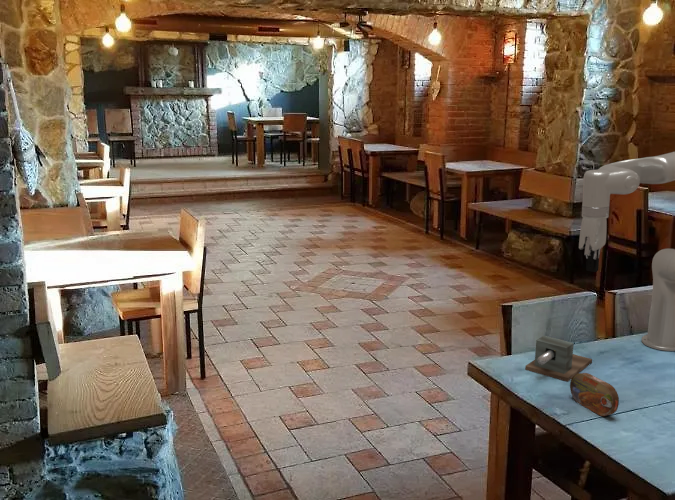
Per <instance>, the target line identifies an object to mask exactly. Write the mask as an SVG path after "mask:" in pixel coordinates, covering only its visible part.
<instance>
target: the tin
mask: <svg viewBox="0 0 675 500" xmlns="http://www.w3.org/2000/svg"><path fill="white" fill-rule="evenodd" d="M569 389H570V393H571V396H572V397H573V399H574V401H575V402H576V403H577V404H579V405H580V406H582V407H584V408H586V409H587V410H589V411H591V412H593V413H594V414H596V415H598V416H601V417H607V416H612V415H613V414H615V413H616V412H617V411H618V408H619V401H620V398H619V397H620V396H619V393H618V391H617V390H616V388H615V387H614V386H613V385H612V384H611V383H608V382H606V381H605V380H603V379H600V378H598V376H597V377H596V376H595V375H593V374H591V373H587V372H580V373H577V374H575V375H574V376H573V377H572V379H571V380H570V382H569Z"/></svg>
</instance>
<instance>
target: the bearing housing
mask: <svg viewBox="0 0 675 500" xmlns="http://www.w3.org/2000/svg"><path fill="white" fill-rule="evenodd" d="M550 349H552V350H556V356H555V357H553V358H552V359H551V360H549V361H548V362H546V363H545V364H543V365H541V364H539V363H538V361H537V359H538V357H539V356H541V355H542V354H544V353H545V352H547V351H548V350H550ZM534 353H535V354H534V359H533V360H532V361H531V362H529V363H528V364H527V363H526V365H525V367H524V368H525V371H529V372H532V373H535V374H539V375H543V376H546V377H549V378H552V379H556V380H560V381H563V382H566V383H568V382H569V381H571V379H572V377H573V376H574V375H575V374H577V373H582V372H583V371H584V370H585V369H586V368H587V367H588V365H589V364H590V363H591V364H593V359H592V358H589V357H587V356H582V355H579V354H574V342H570V341H566V340H563V339H560V340H559V338H555V337H551V336H547V335H542V336H541V337H539V338H538V339H536V341H535V351H534ZM591 364H590V365H591ZM590 365H589V366H590ZM584 368H585V369H584Z"/></svg>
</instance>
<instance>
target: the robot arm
mask: <svg viewBox="0 0 675 500" xmlns="http://www.w3.org/2000/svg"><path fill="white" fill-rule="evenodd" d="M670 182H675V151H672V152H668V153H664V154H663V153H662V154H659V155H655V156H646V157H641V158H632V159H624V160H620V161H616V162H611V163H608V164H605V165H602V166H600V167H599V168H598V169H589V170H587V171H585V172H584V174H583V184H582V186H583V187H582V188H583V189H582V205H581V217H582V219H581V223H580V232H579V239H578V241H579V242H578V249H579V250H584V256H585V258H586V262H585V271H587V272H591V273H597V272H598V271H599V266H600V265H599V263H600V254H601V249H602V248H603V247H604V246H605V245H606V243H607V229H608V228H607V227H608V226H607V225H608V224H607V219H608V218H609V217H610V216H609V214H610V202H611V201H610V200H611V195H629V194H631V193H634V192H635V191H636V190H637V189H638V188H639V186H640V184H647V185H648V184H649V185H660V184H667V183H670ZM651 261H652V263H651V271H652V279H653V280H652V291H651V292H652V294H651V299H650V310H649V317H648V324H647V325H648V327H647V328H648V329H647V334H644V335H643V336H642V337H641V343H642V344H643V345H645V346H646V347H649V348H652V349H654V350H659V351H665V352H675V248H663V249H661V250H659V251H657V252H656V253H655V254H654V256H653V258H652V260H651Z"/></svg>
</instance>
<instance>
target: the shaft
mask: <svg viewBox="0 0 675 500" xmlns="http://www.w3.org/2000/svg"><path fill="white" fill-rule="evenodd" d="M558 339H559V338H558ZM559 340H561V339H559ZM555 356H556V350H552V349H550V350H548V351H547V352H545V353H544V354H542V355H541V356H539V357H538V359H537V361H538V363H539V364H541V365H543V364H545V363H546V362H548V361H549V360H551V359H552V358H553V357H555Z"/></svg>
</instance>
